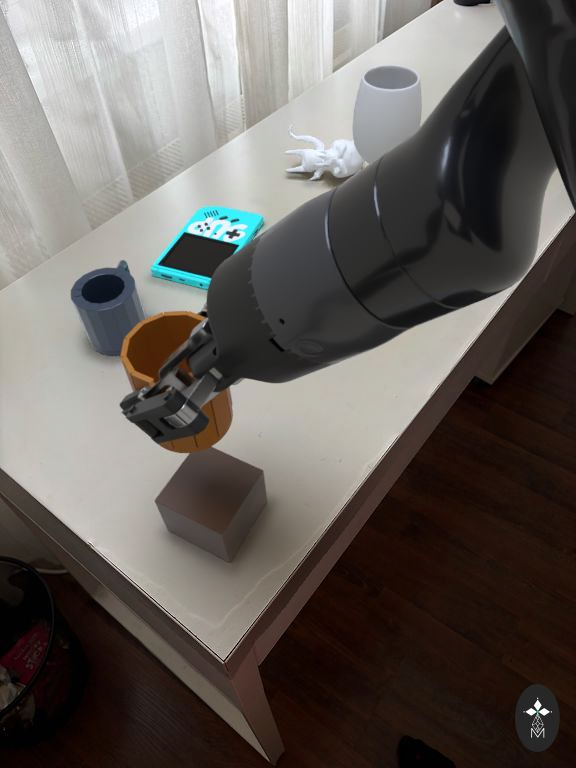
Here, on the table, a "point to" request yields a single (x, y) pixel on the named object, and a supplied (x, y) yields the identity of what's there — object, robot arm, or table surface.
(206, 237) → the handheld game console
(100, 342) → the mug
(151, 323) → the orange hollow slatted cylinder
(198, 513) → the block
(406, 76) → the wineglass
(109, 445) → the table surface
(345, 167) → the figurine
